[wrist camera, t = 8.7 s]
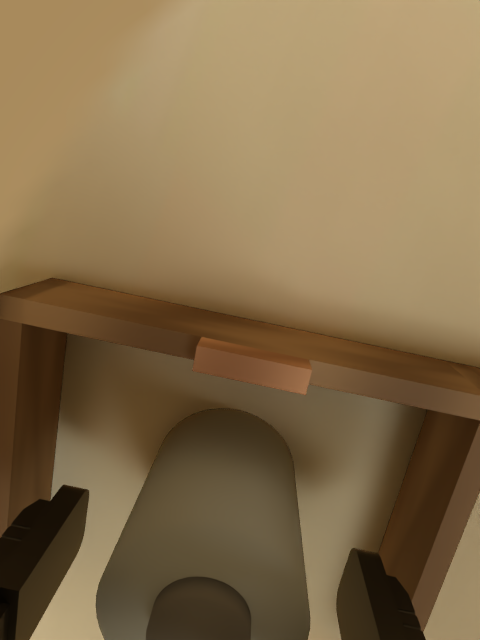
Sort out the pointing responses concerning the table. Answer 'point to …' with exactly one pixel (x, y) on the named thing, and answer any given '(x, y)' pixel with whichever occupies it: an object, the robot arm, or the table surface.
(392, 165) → the table surface
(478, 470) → the slot rack
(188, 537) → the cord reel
